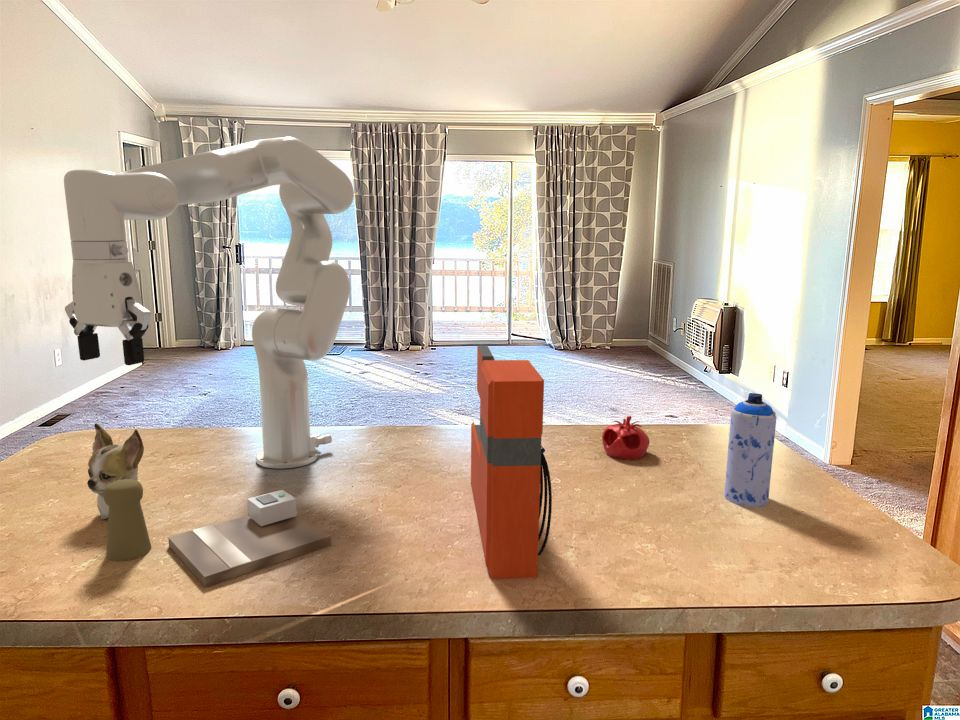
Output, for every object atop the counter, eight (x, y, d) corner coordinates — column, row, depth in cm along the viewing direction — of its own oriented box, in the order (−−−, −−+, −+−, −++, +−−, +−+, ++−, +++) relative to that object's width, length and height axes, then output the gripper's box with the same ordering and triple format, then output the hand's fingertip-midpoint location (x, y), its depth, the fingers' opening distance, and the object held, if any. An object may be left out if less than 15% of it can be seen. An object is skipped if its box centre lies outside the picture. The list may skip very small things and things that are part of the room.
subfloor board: (285, 512, 114) (285, 504, 114) (330, 544, 102) (330, 535, 102) (169, 546, 101) (168, 536, 101) (205, 587, 90) (204, 576, 90)
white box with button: (283, 506, 112) (282, 488, 111) (296, 515, 108) (295, 497, 108) (248, 516, 108) (247, 497, 107) (261, 526, 104) (260, 507, 104)
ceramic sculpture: (70, 518, 111) (60, 432, 108) (115, 499, 119) (107, 418, 116) (117, 529, 107) (108, 440, 104) (160, 509, 115) (153, 425, 112)
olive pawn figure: (160, 545, 102) (154, 477, 100) (128, 564, 96) (121, 492, 94) (130, 539, 104) (123, 472, 101) (96, 557, 98) (88, 486, 96)
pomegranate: (613, 446, 151) (615, 407, 149) (655, 455, 145) (658, 414, 144) (593, 458, 143) (595, 416, 141) (637, 468, 138) (640, 424, 136)
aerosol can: (769, 497, 123) (780, 392, 119) (768, 512, 116) (779, 401, 112) (724, 489, 126) (733, 387, 122) (720, 504, 119) (729, 396, 115)
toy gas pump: (516, 484, 128) (520, 338, 123) (553, 576, 94) (560, 380, 89) (468, 485, 127) (469, 339, 122) (487, 579, 93) (489, 381, 88)
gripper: (162, 253, 103) (172, 361, 106) (82, 251, 109) (94, 353, 113) (120, 255, 96) (132, 370, 100) (38, 252, 102) (52, 361, 106)
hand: (112, 361), depth 106 cm, fingers open, 9 cm apart
